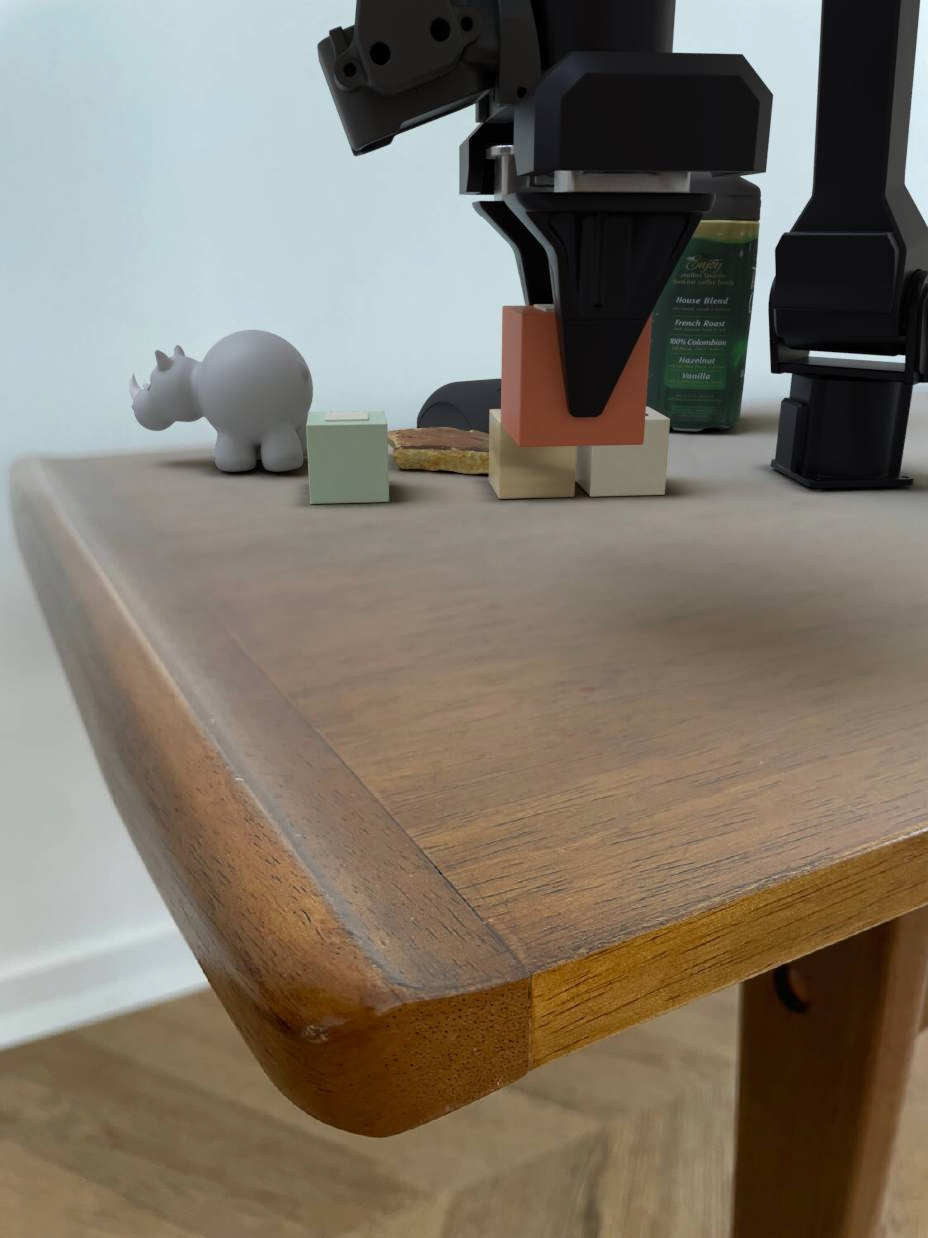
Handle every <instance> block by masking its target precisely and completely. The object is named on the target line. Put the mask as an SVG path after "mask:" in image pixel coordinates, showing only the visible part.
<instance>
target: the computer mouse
mask: <svg viewBox="0 0 928 1238" xmlns="http://www.w3.org/2000/svg"><path fill="white" fill-rule="evenodd" d="M490 409H501V378H488V379H487V378H486V379H485V378H484V379H472V380H461V381H460V380H459V381H453V382H449V383H446V384H444V385H442V386H440V387H439V388H437V389H436V390H434V391H433V392H432V393H431V394H430V395H429V396H428V398H426V400H425V402H424V404H422V407H421V408H420V410H419V412H418V414H417V417H416V429H418V428H430V427H448V428H455V429H459V430H463V431H471V430H477V431H480V432H483V433H487V434H489V411H490Z"/></svg>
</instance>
